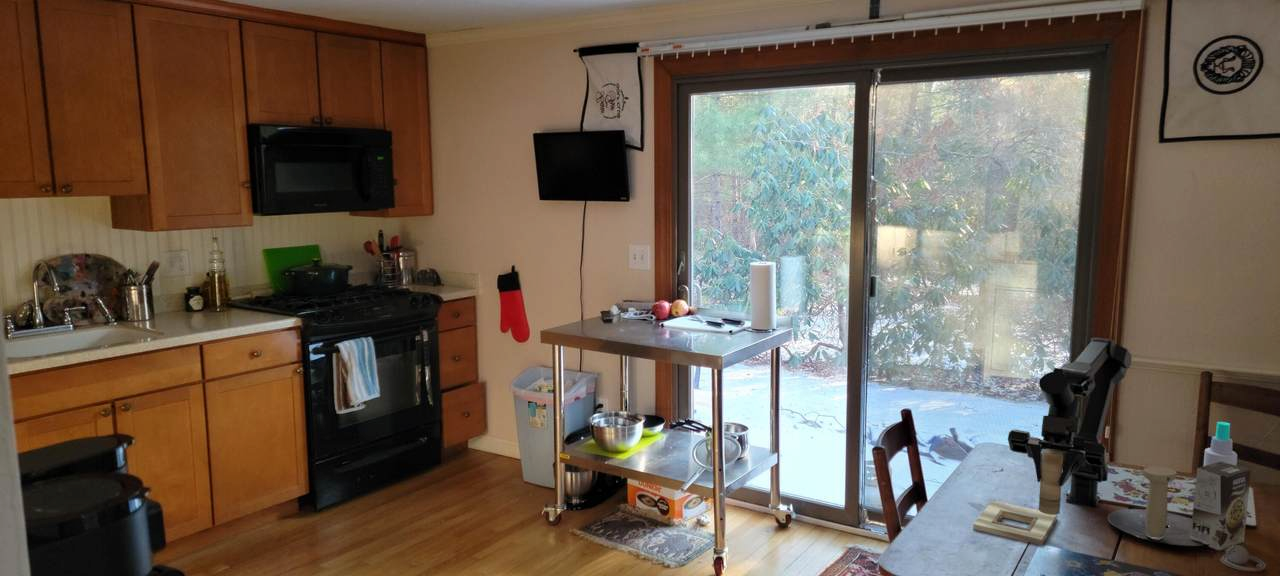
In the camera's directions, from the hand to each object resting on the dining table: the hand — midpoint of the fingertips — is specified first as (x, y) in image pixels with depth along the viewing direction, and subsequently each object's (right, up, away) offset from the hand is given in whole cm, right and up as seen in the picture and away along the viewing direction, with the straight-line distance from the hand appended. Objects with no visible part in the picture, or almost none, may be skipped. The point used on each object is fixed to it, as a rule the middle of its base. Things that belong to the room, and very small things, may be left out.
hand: (1049, 483), depth 182 cm
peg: (+1, -6, +2) cm, 7 cm away
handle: (+24, -13, +4) cm, 28 cm away
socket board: (-2, -12, +12) cm, 17 cm away
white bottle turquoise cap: (+44, -11, +14) cm, 48 cm away
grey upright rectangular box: (+37, -13, +2) cm, 39 cm away
